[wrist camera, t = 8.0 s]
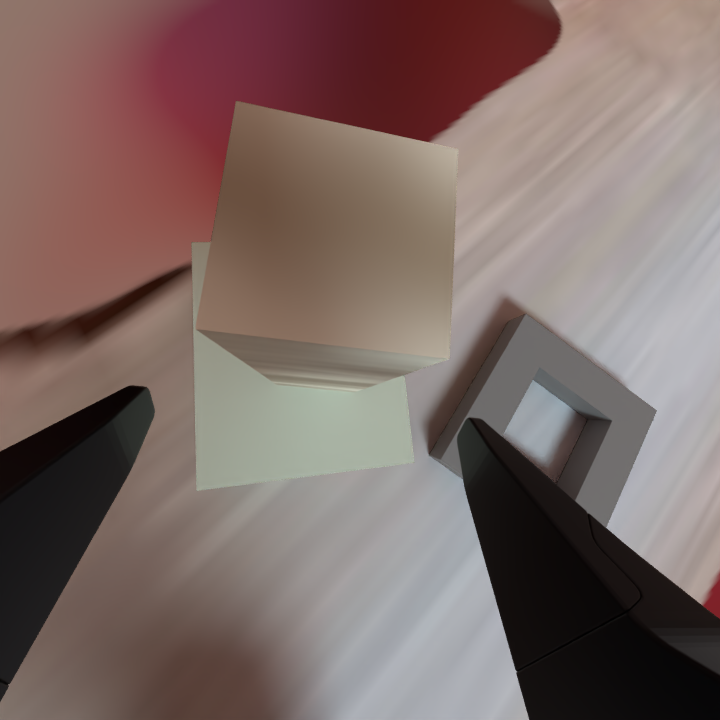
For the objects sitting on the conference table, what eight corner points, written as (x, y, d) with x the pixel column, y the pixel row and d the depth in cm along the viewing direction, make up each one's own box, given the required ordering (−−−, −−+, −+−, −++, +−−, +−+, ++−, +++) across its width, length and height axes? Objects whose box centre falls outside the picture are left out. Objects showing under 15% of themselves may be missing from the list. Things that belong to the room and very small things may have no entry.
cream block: (354, 392, 19) (449, 358, 6) (276, 384, 18) (195, 329, 5) (360, 319, 19) (458, 148, 7) (286, 309, 19) (236, 100, 6)
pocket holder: (565, 551, 22) (589, 565, 20) (428, 455, 22) (440, 460, 20) (629, 410, 25) (656, 410, 23) (508, 321, 24) (526, 313, 22)
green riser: (400, 455, 21) (414, 462, 18) (213, 478, 19) (196, 490, 16) (379, 261, 23) (389, 241, 20) (207, 264, 21) (191, 242, 18)
